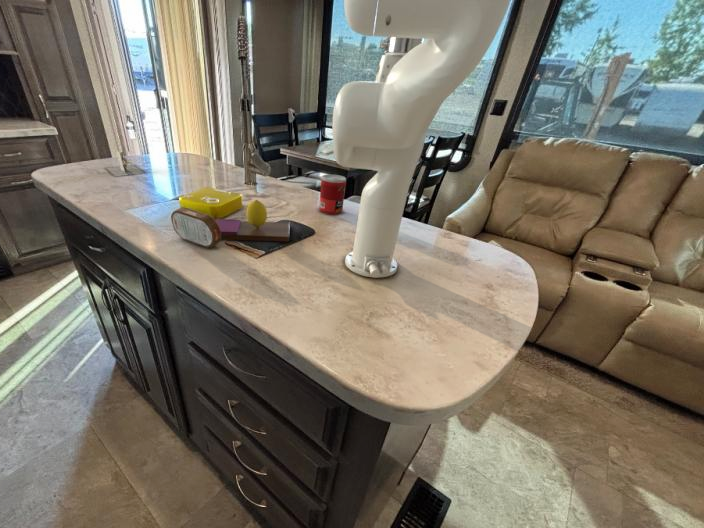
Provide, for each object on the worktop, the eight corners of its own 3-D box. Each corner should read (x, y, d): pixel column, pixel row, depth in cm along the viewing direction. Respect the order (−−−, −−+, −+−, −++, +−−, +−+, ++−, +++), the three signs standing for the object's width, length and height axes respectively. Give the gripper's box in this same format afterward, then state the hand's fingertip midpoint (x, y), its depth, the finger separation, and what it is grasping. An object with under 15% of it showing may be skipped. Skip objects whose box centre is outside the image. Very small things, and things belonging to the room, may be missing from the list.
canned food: (339, 216, 107) (343, 181, 100) (316, 212, 109) (318, 178, 102) (344, 209, 113) (348, 176, 106) (322, 205, 115) (325, 173, 108)
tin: (223, 248, 83) (220, 216, 78) (214, 252, 81) (210, 220, 76) (181, 233, 89) (176, 203, 84) (172, 237, 87) (166, 206, 82)
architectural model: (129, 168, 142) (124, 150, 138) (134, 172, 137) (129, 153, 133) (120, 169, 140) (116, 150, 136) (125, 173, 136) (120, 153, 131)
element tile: (244, 207, 109) (244, 192, 107) (217, 221, 98) (215, 205, 95) (208, 199, 114) (207, 185, 111) (178, 211, 103) (175, 196, 100)
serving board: (289, 241, 88) (289, 236, 88) (206, 239, 87) (206, 233, 86) (289, 227, 97) (289, 222, 96) (214, 224, 95) (213, 219, 95)
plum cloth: (236, 234, 87) (236, 232, 87) (210, 233, 87) (210, 231, 87) (241, 221, 95) (241, 219, 94) (216, 220, 94) (216, 218, 94)
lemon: (263, 233, 89) (263, 204, 84) (244, 230, 89) (242, 201, 85) (269, 225, 93) (269, 197, 89) (251, 223, 94) (249, 195, 89)
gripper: (367, 44, 68) (356, 135, 78) (448, 50, 69) (426, 139, 79) (361, 47, 74) (351, 130, 84) (435, 52, 75) (416, 134, 85)
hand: (387, 134), depth 82 cm, fingers open, 9 cm apart
